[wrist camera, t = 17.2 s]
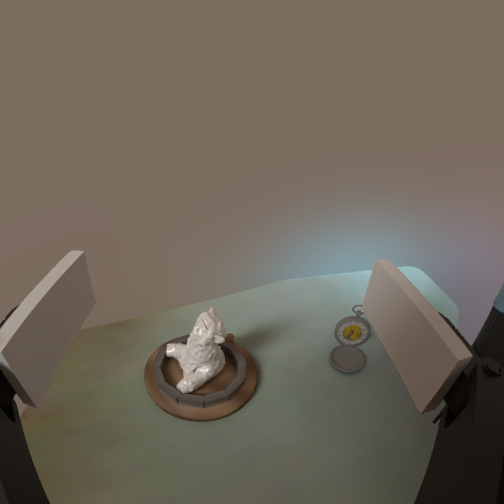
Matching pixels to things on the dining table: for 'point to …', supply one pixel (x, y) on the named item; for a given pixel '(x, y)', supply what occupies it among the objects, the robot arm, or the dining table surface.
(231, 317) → the dining table surface
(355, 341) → the pocket watch
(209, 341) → the seated beast figurine
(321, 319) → the dining table surface
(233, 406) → the brown wooden disc
